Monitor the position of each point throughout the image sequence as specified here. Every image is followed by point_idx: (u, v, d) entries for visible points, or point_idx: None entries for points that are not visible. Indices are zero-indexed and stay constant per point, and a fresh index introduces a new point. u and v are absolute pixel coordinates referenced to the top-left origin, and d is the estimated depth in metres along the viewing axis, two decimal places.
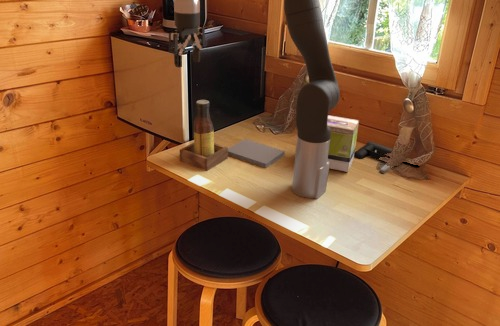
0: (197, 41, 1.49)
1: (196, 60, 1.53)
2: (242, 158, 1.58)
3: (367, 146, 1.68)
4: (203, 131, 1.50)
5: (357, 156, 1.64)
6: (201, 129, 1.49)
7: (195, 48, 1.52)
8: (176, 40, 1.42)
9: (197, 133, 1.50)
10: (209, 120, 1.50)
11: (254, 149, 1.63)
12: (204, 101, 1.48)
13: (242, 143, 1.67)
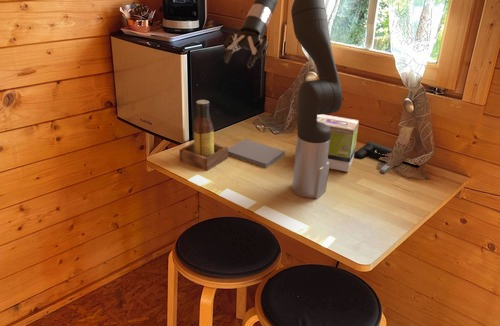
0: (251, 44, 1.54)
1: None
2: (242, 158, 1.58)
3: (367, 146, 1.68)
4: (203, 131, 1.50)
5: (357, 157, 1.64)
6: (201, 129, 1.49)
7: None
8: (229, 36, 1.58)
9: (197, 133, 1.50)
10: (209, 120, 1.50)
11: (254, 149, 1.63)
12: (204, 101, 1.48)
13: (242, 143, 1.67)
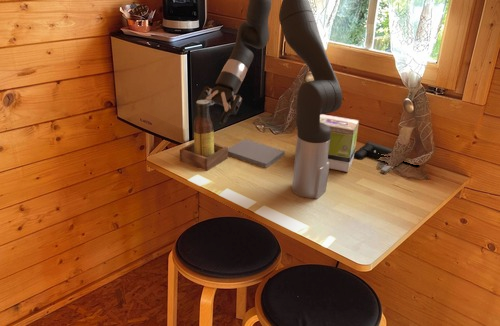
0: (224, 100, 1.53)
1: None
2: (242, 158, 1.58)
3: (366, 146, 1.67)
4: (203, 131, 1.50)
5: (357, 157, 1.63)
6: (201, 129, 1.49)
7: None
8: (204, 91, 1.58)
9: (197, 133, 1.50)
10: (209, 120, 1.50)
11: (254, 149, 1.63)
12: (204, 101, 1.48)
13: (242, 143, 1.67)
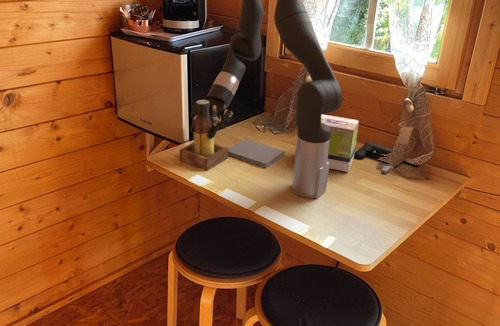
0: (214, 114, 1.51)
1: None
2: (242, 158, 1.58)
3: (366, 147, 1.67)
4: (203, 131, 1.50)
5: (357, 157, 1.63)
6: (201, 129, 1.49)
7: None
8: (195, 105, 1.56)
9: (197, 133, 1.50)
10: (209, 120, 1.50)
11: (254, 149, 1.63)
12: (204, 102, 1.48)
13: (242, 143, 1.67)
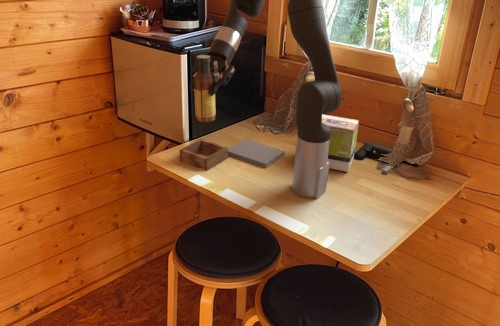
0: (215, 70, 1.45)
1: None
2: (242, 158, 1.58)
3: (365, 147, 1.67)
4: (203, 87, 1.43)
5: (357, 158, 1.63)
6: (202, 85, 1.43)
7: None
8: (195, 62, 1.49)
9: (198, 90, 1.44)
10: (210, 76, 1.44)
11: (254, 149, 1.63)
12: (205, 56, 1.42)
13: (242, 143, 1.67)
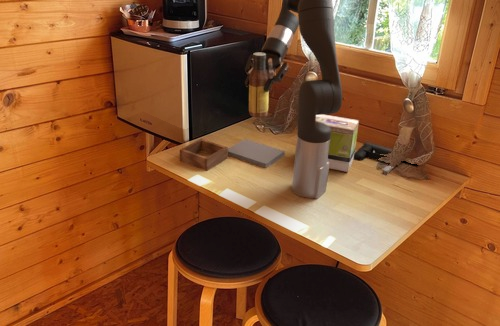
0: (270, 67, 1.50)
1: None
2: (242, 158, 1.58)
3: (365, 147, 1.67)
4: (259, 83, 1.48)
5: (357, 158, 1.62)
6: (258, 81, 1.48)
7: None
8: (249, 59, 1.54)
9: (253, 86, 1.49)
10: (265, 73, 1.49)
11: (254, 149, 1.63)
12: (261, 54, 1.47)
13: (242, 143, 1.67)
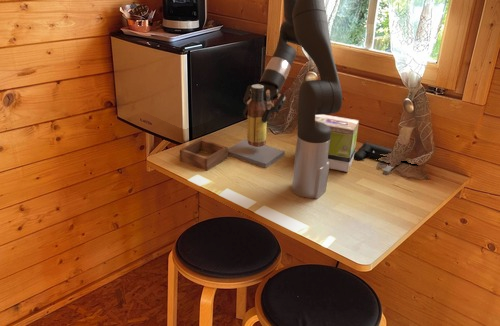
0: (267, 98, 1.54)
1: None
2: (242, 158, 1.58)
3: (365, 147, 1.67)
4: (257, 115, 1.53)
5: (357, 158, 1.62)
6: (256, 112, 1.53)
7: None
8: (248, 90, 1.59)
9: (252, 117, 1.54)
10: (263, 104, 1.53)
11: (254, 149, 1.63)
12: (259, 86, 1.52)
13: (242, 143, 1.67)
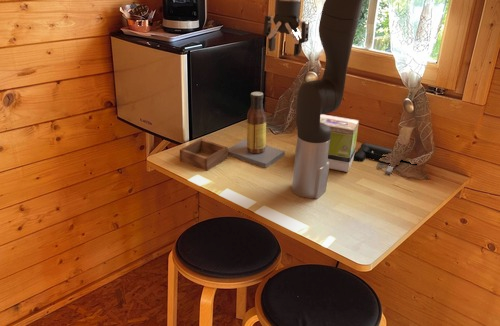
0: (291, 32, 1.43)
1: None
2: (242, 158, 1.58)
3: (364, 148, 1.66)
4: (257, 122, 1.54)
5: (357, 159, 1.62)
6: (255, 120, 1.54)
7: None
8: (266, 22, 1.47)
9: (251, 124, 1.55)
10: (263, 111, 1.55)
11: None
12: (259, 93, 1.53)
13: (242, 143, 1.67)
